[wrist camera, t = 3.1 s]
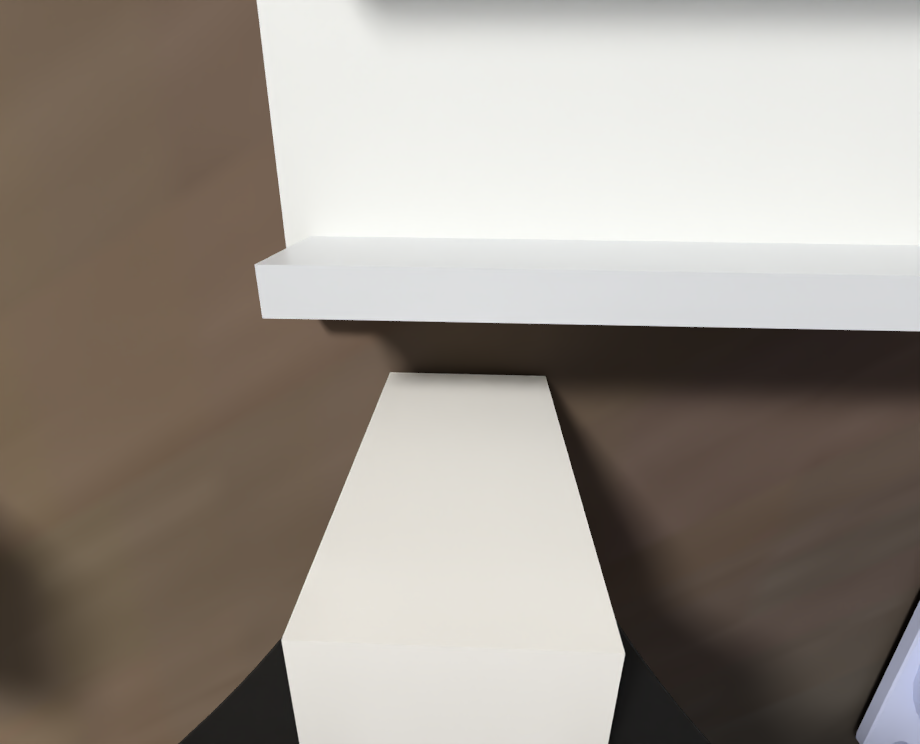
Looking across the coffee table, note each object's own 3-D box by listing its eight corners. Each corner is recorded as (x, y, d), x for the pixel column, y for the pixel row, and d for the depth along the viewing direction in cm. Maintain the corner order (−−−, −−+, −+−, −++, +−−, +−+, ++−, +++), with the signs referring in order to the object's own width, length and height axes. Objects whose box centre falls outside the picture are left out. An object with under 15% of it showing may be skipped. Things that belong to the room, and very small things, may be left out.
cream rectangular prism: (545, 376, 12) (624, 653, 5) (524, 633, 15) (558, 1005, 8) (390, 372, 12) (280, 640, 5) (402, 628, 15) (342, 991, 8)
